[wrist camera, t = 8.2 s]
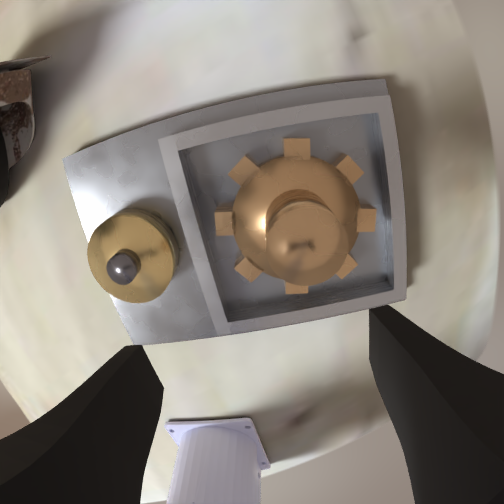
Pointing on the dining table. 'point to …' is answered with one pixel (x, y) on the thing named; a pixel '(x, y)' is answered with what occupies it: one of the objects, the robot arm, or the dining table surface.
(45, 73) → the dining table surface
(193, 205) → the carrier
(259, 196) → the gear
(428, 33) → the dining table surface
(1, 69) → the caster wheel
